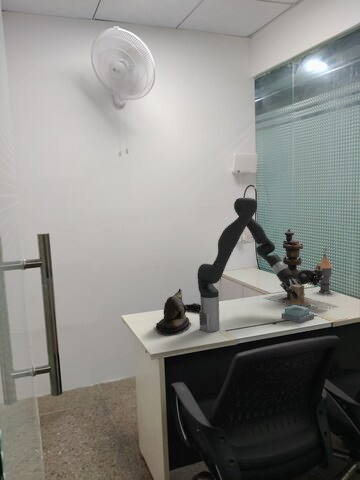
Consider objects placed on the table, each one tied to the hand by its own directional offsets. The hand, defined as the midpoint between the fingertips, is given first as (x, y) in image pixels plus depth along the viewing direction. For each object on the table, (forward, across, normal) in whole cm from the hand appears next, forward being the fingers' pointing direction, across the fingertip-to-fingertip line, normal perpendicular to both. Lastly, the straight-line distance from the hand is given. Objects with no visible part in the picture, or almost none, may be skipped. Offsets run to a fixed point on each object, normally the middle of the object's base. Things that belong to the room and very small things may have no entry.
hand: (300, 296), depth 203 cm
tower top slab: (+5, 0, +8) cm, 10 cm away
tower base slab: (+8, 0, +10) cm, 13 cm away
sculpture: (-16, -60, +33) cm, 70 cm away
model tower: (-7, +56, +25) cm, 62 cm away
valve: (-5, +26, +23) cm, 35 cm away
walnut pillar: (+2, 0, +4) cm, 5 cm away
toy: (-28, -33, +45) cm, 63 cm away
